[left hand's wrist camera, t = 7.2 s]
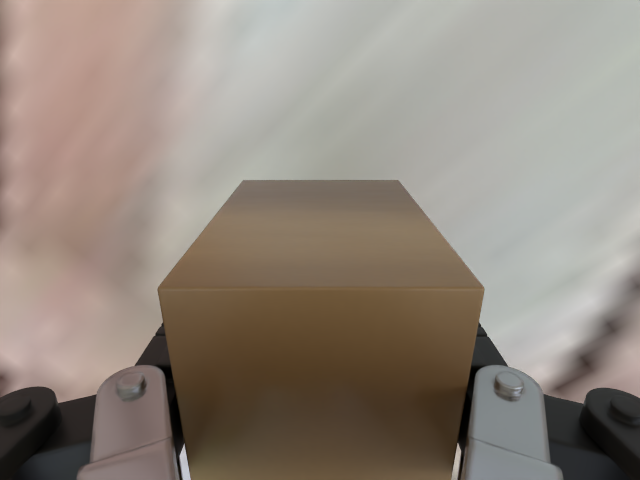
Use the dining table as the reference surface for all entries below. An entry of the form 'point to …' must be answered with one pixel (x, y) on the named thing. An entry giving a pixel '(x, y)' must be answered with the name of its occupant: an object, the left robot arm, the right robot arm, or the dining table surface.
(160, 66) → the dining table surface
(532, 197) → the dining table surface
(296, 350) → the bar
